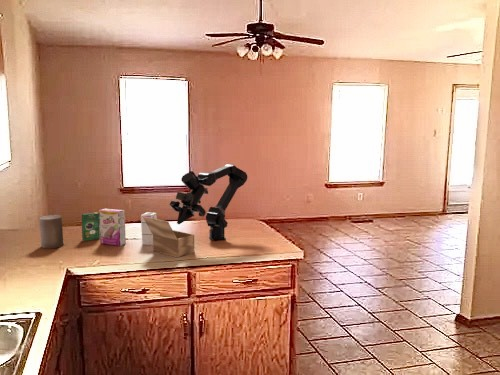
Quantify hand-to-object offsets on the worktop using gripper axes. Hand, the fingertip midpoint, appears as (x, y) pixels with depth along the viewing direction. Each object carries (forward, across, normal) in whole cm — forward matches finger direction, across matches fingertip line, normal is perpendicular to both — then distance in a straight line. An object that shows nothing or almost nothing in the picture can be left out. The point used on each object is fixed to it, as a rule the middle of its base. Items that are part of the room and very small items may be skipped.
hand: (178, 223), depth 220 cm
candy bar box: (+18, -32, 0) cm, 36 cm away
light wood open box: (+11, 0, +6) cm, 13 cm away
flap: (+7, 0, -7) cm, 10 cm away
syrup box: (+9, -19, +8) cm, 23 cm away
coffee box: (+19, -47, -1) cm, 50 cm away
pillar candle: (+31, -51, -14) cm, 61 cm away
